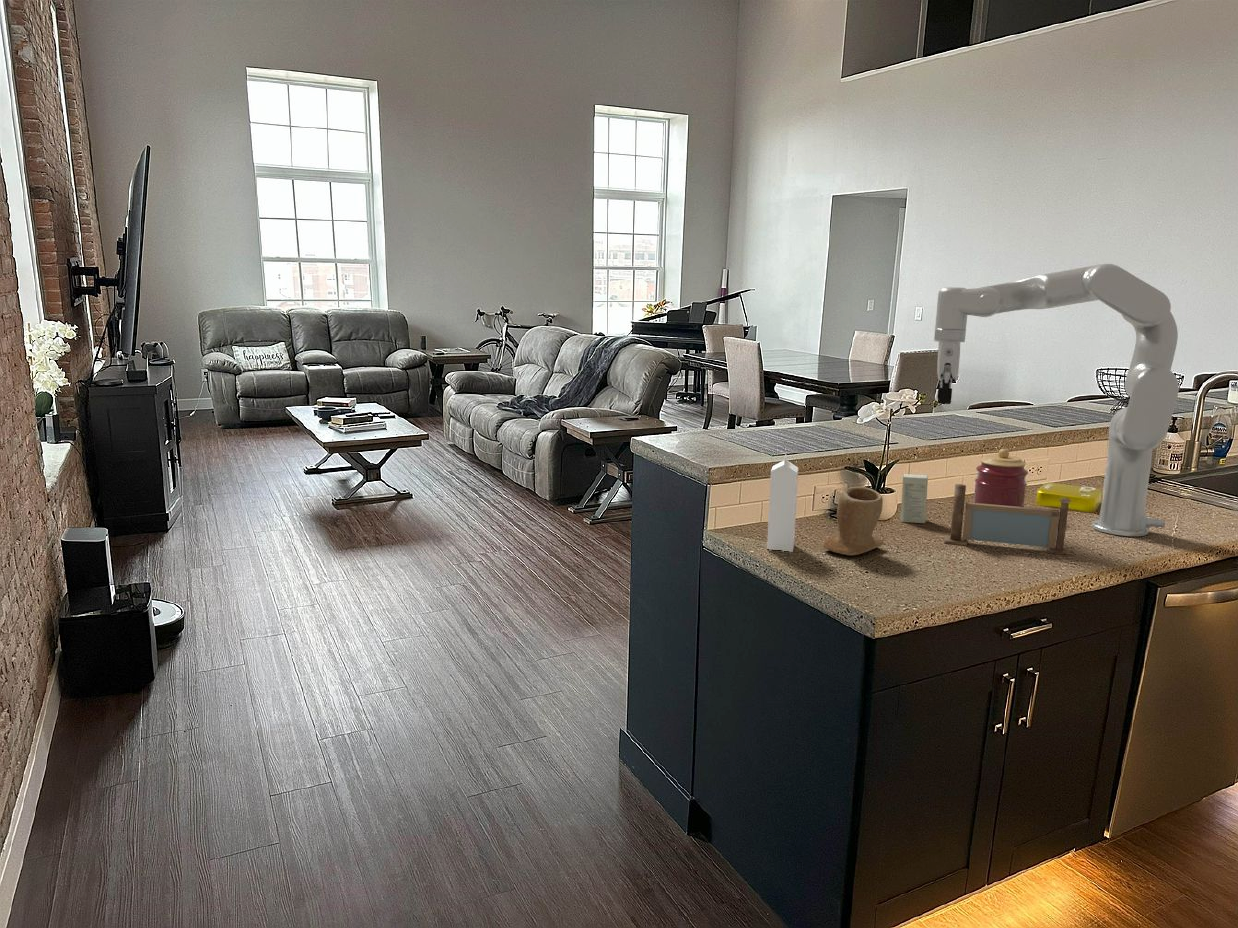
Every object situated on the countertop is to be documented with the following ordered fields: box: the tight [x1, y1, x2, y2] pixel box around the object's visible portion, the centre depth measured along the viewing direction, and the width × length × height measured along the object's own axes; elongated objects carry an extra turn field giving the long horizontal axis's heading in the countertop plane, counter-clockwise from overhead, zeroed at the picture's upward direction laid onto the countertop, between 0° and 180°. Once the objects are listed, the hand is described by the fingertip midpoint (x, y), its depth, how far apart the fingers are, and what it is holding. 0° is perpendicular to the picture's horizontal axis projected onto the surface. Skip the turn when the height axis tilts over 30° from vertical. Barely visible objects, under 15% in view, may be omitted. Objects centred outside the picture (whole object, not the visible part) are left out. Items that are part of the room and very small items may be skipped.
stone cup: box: [822, 486, 885, 556], centre depth 196 cm, size 15×12×15 cm
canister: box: [972, 448, 1029, 507], centre depth 231 cm, size 13×13×18 cm
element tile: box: [1035, 482, 1103, 513], centre depth 242 cm, size 15×15×5 cm
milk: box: [766, 454, 799, 553], centre depth 197 cm, size 6×6×22 cm
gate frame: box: [943, 483, 1071, 556], centre depth 200 cm, size 27×5×14 cm, turn 71°
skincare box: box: [900, 473, 929, 524], centre depth 222 cm, size 6×4×12 cm
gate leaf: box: [962, 501, 1060, 548], centre depth 200 cm, size 20×2×9 cm, turn 71°
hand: (943, 401), depth 224 cm, fingers open, 9 cm apart
